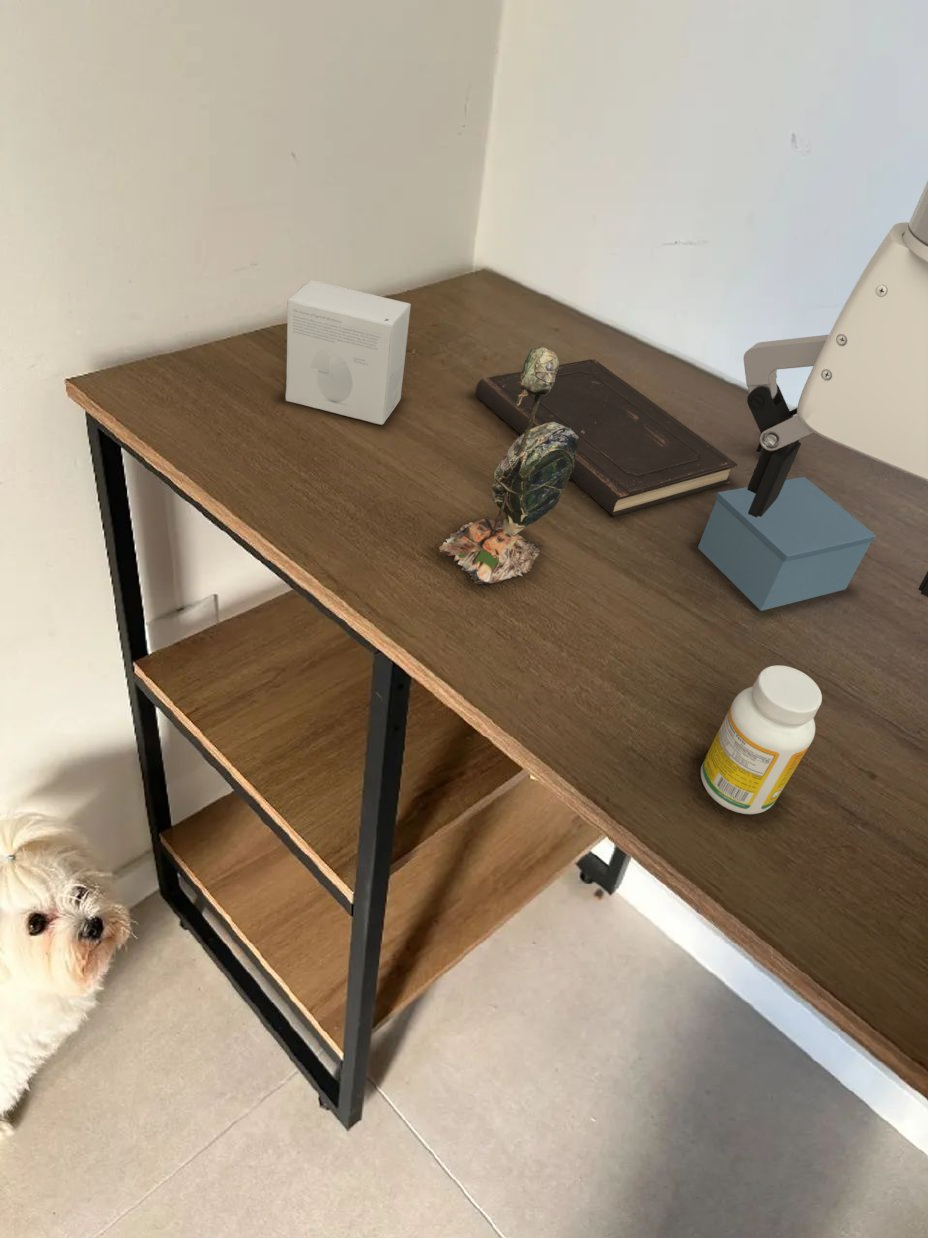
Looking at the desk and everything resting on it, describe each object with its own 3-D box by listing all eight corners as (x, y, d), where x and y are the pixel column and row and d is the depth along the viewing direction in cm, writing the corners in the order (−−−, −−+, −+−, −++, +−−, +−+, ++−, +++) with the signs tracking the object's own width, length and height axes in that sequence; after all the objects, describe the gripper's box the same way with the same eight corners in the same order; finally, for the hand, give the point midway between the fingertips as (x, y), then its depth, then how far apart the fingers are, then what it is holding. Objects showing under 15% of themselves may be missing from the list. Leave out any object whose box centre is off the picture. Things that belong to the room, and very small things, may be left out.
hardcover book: (589, 376, 107) (593, 358, 105) (730, 483, 93) (737, 463, 92) (473, 398, 99) (477, 378, 97) (609, 518, 86) (616, 497, 84)
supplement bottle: (711, 817, 61) (763, 719, 55) (689, 753, 65) (735, 655, 59) (787, 817, 62) (847, 721, 56) (761, 755, 66) (814, 658, 60)
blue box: (847, 590, 82) (877, 535, 78) (760, 612, 78) (787, 556, 74) (779, 529, 88) (804, 476, 84) (695, 547, 84) (717, 492, 80)
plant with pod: (580, 563, 80) (643, 345, 67) (470, 597, 74) (515, 367, 61) (526, 511, 84) (575, 298, 71) (419, 539, 79) (451, 314, 66)
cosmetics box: (402, 398, 97) (413, 300, 90) (382, 427, 92) (392, 326, 85) (307, 373, 98) (310, 275, 91) (283, 400, 93) (285, 299, 86)
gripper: (1228, 274, 39) (1014, 583, 51) (839, 156, 46) (725, 455, 57) (1224, 322, 34) (988, 653, 46) (788, 182, 41) (674, 505, 52)
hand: (843, 543), depth 51 cm, fingers open, 9 cm apart
